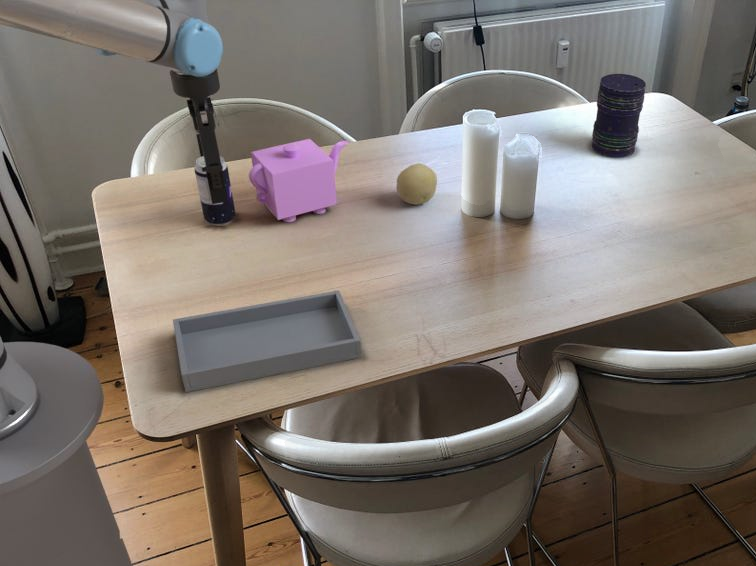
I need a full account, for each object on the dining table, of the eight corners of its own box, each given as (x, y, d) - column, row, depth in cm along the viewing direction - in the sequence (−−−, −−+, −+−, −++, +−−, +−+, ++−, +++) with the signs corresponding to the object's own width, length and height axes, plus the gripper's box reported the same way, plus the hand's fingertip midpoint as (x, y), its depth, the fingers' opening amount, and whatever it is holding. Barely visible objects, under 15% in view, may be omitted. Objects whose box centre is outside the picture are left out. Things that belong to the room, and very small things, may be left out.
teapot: (266, 230, 152) (257, 168, 144) (245, 206, 159) (235, 145, 151) (363, 204, 161) (360, 144, 153) (340, 182, 168) (336, 123, 160)
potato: (440, 211, 160) (440, 173, 155) (399, 213, 159) (398, 175, 154) (434, 192, 166) (434, 155, 161) (395, 194, 165) (394, 157, 160)
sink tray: (185, 392, 118) (181, 375, 116) (176, 336, 128) (172, 319, 126) (361, 357, 126) (360, 340, 124) (340, 306, 135) (339, 290, 133)
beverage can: (240, 223, 154) (230, 164, 146) (210, 231, 152) (198, 171, 144) (230, 210, 158) (220, 151, 150) (200, 217, 155) (188, 157, 147)
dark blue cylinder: (585, 152, 183) (594, 86, 173) (596, 135, 190) (605, 70, 180) (630, 161, 180) (641, 94, 171) (639, 143, 187) (650, 78, 178)
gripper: (226, 94, 129) (246, 214, 142) (207, 39, 146) (226, 151, 160) (176, 99, 126) (201, 221, 140) (162, 43, 144) (186, 156, 158)
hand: (215, 184), depth 150 cm, fingers open, 13 cm apart
